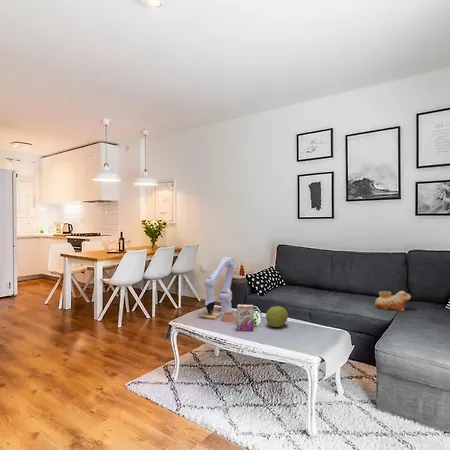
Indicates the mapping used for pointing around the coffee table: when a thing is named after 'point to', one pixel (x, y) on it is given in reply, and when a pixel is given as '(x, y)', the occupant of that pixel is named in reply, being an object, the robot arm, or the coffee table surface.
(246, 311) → the candy bar box
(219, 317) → the grey flat square slab
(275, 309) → the fruit
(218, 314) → the oak lid
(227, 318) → the terracotta bowl
